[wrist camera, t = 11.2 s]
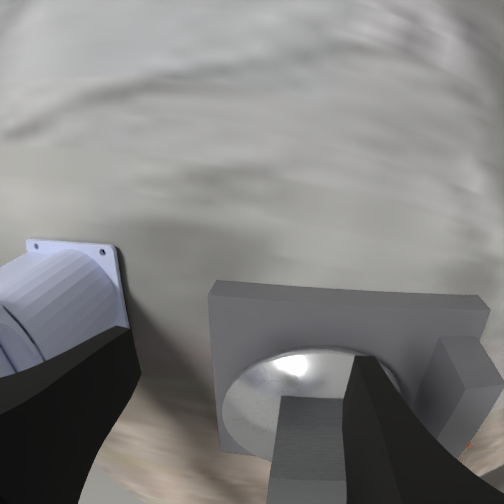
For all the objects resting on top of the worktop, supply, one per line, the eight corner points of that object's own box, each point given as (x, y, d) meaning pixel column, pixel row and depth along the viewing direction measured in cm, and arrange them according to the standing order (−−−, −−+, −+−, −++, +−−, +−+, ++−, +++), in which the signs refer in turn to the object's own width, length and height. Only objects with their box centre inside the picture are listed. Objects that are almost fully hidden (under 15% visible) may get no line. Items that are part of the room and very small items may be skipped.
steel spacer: (276, 437, 20) (265, 509, 14) (281, 395, 18) (269, 477, 12) (340, 440, 19) (342, 512, 13) (354, 398, 17) (361, 480, 12)
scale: (225, 434, 26) (206, 496, 20) (216, 280, 20) (178, 345, 14) (414, 441, 24) (426, 500, 17) (478, 295, 18) (526, 354, 11)
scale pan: (227, 451, 22) (225, 458, 22) (220, 336, 18) (217, 344, 17) (374, 459, 21) (375, 467, 20) (423, 347, 16) (427, 356, 16)
